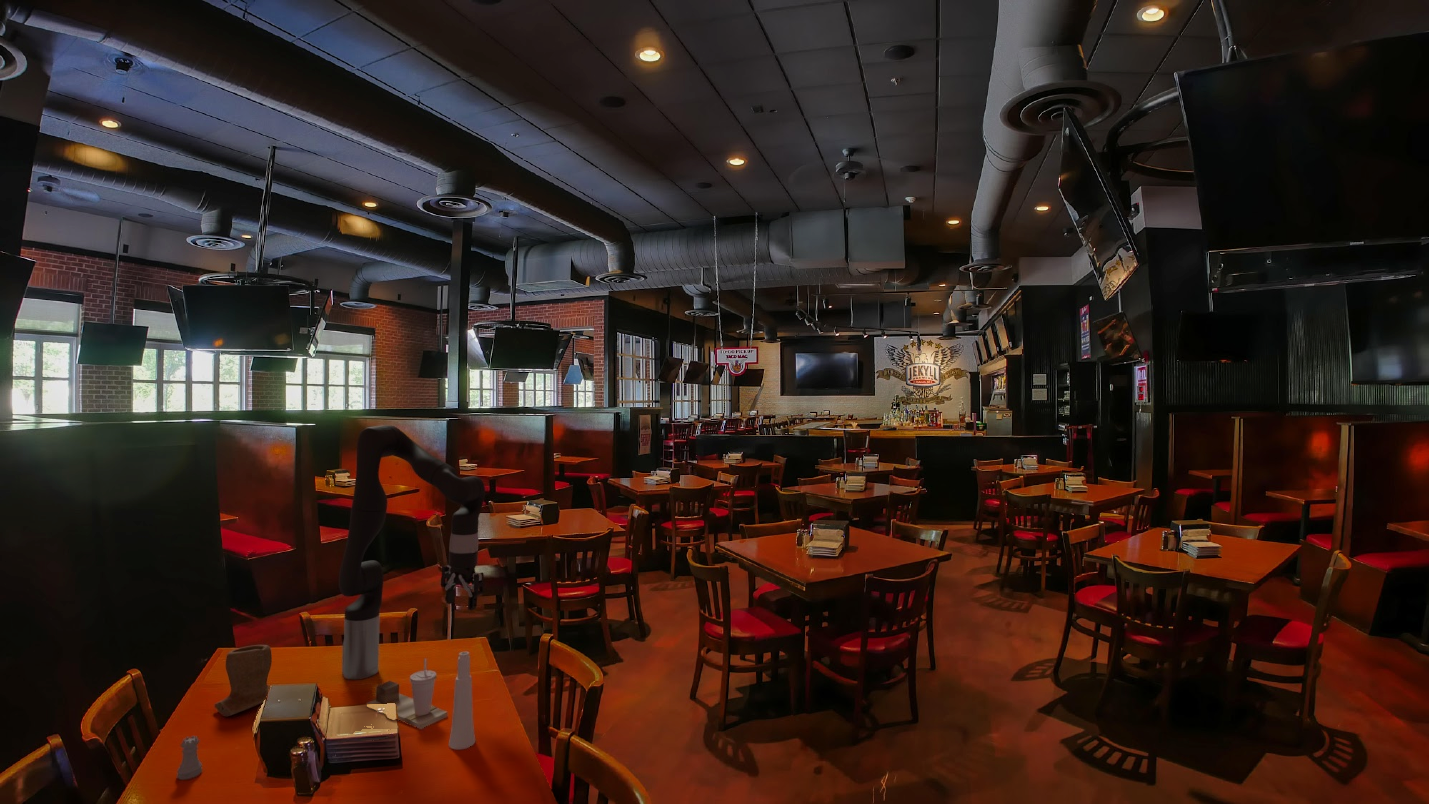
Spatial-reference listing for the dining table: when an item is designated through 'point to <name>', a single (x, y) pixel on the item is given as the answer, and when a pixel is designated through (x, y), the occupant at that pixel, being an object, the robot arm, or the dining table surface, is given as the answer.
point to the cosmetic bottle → (462, 707)
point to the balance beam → (405, 706)
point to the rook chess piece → (189, 759)
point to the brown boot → (246, 678)
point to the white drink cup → (422, 690)
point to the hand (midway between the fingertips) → (461, 606)
